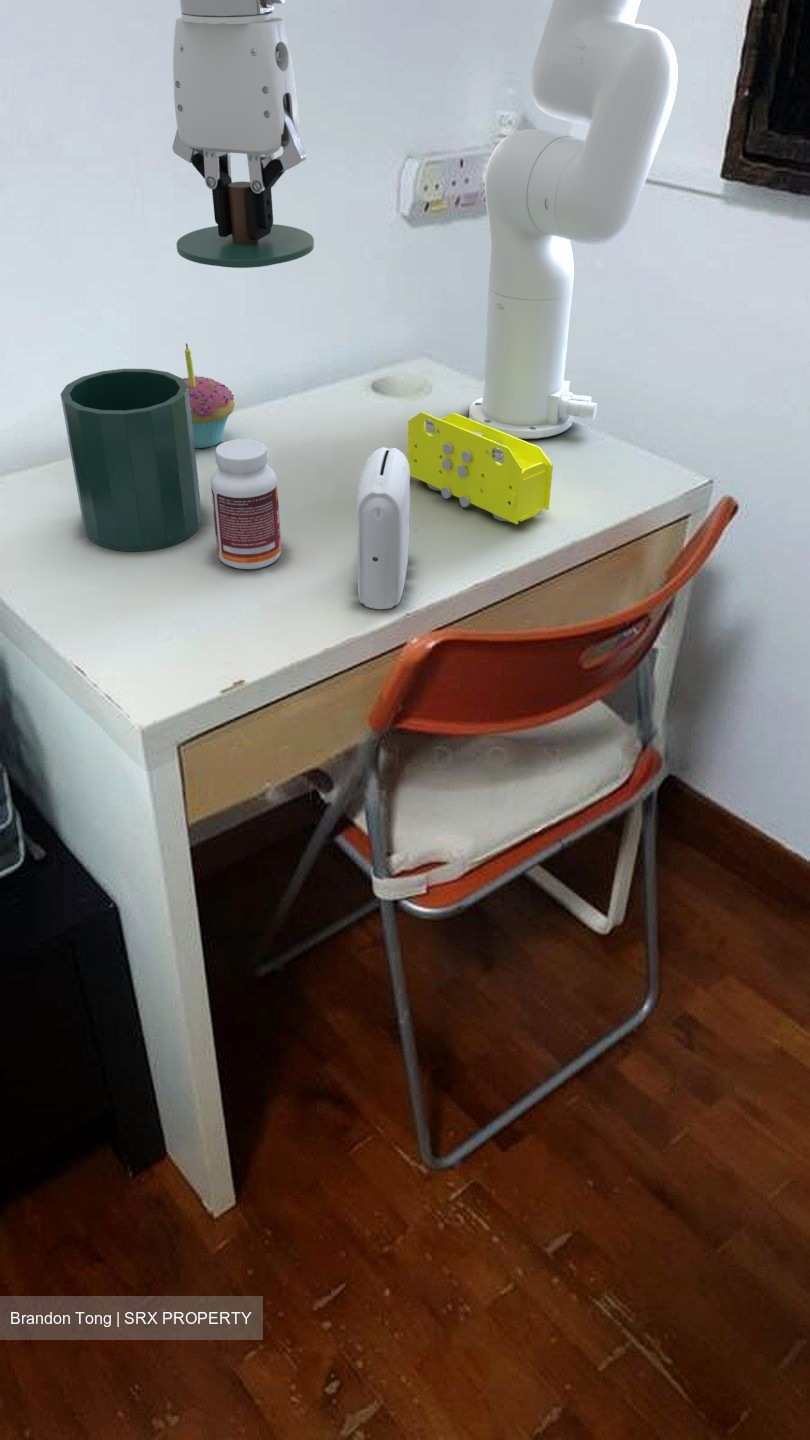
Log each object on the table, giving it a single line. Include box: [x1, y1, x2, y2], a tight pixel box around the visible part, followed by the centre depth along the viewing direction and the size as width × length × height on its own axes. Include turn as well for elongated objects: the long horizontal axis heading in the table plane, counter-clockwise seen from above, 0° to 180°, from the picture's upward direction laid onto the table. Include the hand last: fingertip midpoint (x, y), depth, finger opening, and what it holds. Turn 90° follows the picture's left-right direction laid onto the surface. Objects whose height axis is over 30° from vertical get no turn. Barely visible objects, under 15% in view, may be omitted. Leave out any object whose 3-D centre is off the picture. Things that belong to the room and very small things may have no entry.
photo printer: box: [356, 446, 411, 610], centre depth 103 cm, size 10×4×12 cm, turn 175°
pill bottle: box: [210, 438, 282, 570], centre depth 108 cm, size 6×6×11 cm
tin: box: [60, 368, 203, 552], centre depth 112 cm, size 12×12×14 cm
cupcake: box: [182, 342, 236, 449], centre depth 130 cm, size 9×8×12 cm
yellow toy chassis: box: [407, 411, 554, 525], centre depth 119 cm, size 16×6×8 cm, turn 43°
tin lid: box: [176, 181, 315, 269], centre depth 104 cm, size 13×13×6 cm
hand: (245, 233), depth 105 cm, fingers closed on tin lid, 2 cm apart
